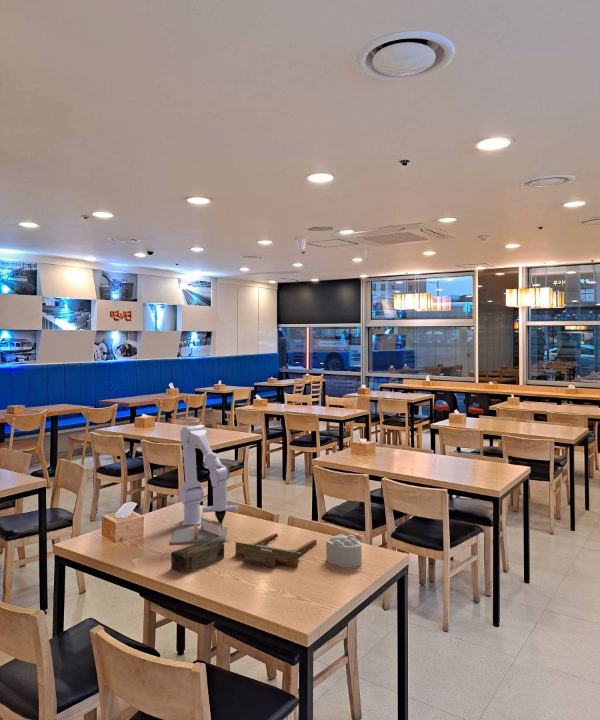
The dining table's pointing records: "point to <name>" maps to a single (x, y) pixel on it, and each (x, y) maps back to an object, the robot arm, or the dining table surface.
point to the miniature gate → (270, 553)
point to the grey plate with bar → (196, 535)
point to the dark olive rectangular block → (197, 556)
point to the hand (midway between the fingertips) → (220, 528)
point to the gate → (211, 526)
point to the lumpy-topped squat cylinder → (344, 551)
